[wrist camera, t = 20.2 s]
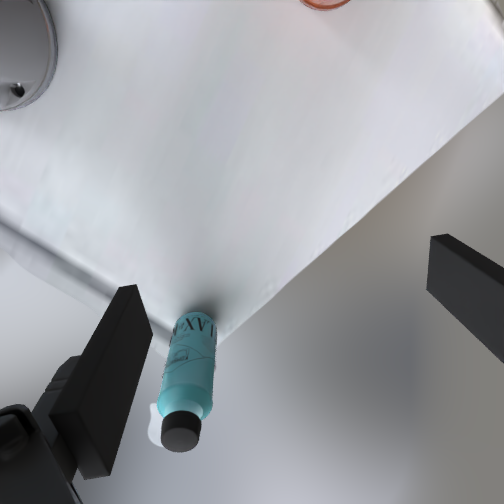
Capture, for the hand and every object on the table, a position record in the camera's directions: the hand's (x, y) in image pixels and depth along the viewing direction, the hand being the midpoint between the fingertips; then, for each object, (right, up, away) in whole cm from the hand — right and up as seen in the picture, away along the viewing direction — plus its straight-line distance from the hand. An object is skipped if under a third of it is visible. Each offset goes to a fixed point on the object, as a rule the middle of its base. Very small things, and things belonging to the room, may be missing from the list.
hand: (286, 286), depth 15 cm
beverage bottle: (-10, -9, +37) cm, 40 cm away
